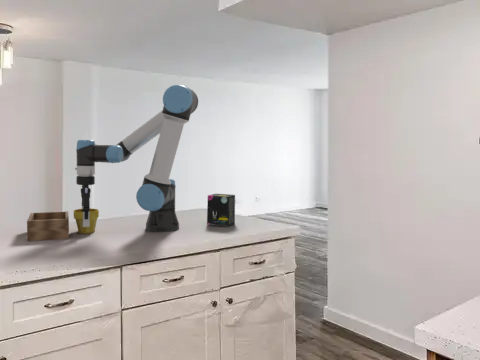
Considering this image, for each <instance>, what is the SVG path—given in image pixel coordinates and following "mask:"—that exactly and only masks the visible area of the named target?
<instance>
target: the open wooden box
mask: <svg viewBox="0 0 480 360" xmlns="http://www.w3.org/2000/svg"><path fill="white" fill-rule="evenodd" d="M69 217H70V216H69V211H67V210H66V211H49V212H48V211H47V212H46V211H43V212H42V211H41V212H30V214H29V216H28V218H27V220H26V231H27V233H26V236H27V240H26V241H27V242H34V241H49V240H51V241H52V240H66V239H70V229H69V228H70V226H69V224H70V222H69V221H70V220H69Z"/></svg>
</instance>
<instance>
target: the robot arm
mask: <svg viewBox="0 0 480 360" xmlns="http://www.w3.org/2000/svg"><path fill="white" fill-rule="evenodd" d="M162 104H163V107H162V110H160V111H159V112H158V113H157V114H155V115H154V116H153V117H151V118H150V119H149V120H148V121H145V123H143V124H142V125H141V126H140V127H138V128H136V129H135V130H133V132H131V133H130V134H129V135H128V136H126V137H125V138H123V139H122V140H121V141H120V142H118V143H117V144H96V141H95V140H94V139H78V140H77V141H76V151H75V152H76V167H75V168H74V170H75V171H76V175H77V176H76V178H75V179H76V180H75V181H76V182H75V183H76V185H78V186H81V188H80V196H81V204H80V205H81V209H83V210H81V212H83V227H90V208H91V207H90V203H91V202H90V199H91V192H92V191H91V188H90V187H89V186H93V185H95V183H96V182H95V180H96V179H95V176H94V175H96V165H95V163H107V164H108V163H109V164H110V163H111V164H119V163H121V162H125V161H127V160H128V159H129V158H130V157H131V155H133V154H134V153H135V152H136V151H138V150H139V149H140V148H142V147H143V146H145V145H146V144H147V143H149V142H150V141H151V140H153V139H155V138H156V137H157V136H158V135H159V137H158V140H157V144H156V147H155V151H154V154H153V158H152V162H151V166H150V167H149V168H150V169H149V172H148V173H146V174H145V175H144V176H143V177H144V178H143V181H142V184H141V186H140V187H138V190H137V192H136V198H135V199H136V202H137V204H138V205H139V207H140V208H141V209H142V210H144V211H147V212H149V213H148V216H147V219H146V222H145V230H146V231H150V232H171V231H173V232H174V231H177V230H179V229H180V223H179V220H178V216H177V213H176V180H174V179H173V178H170V176H171V172H172V168H173V165H174V161H175V158H176V154H177V151H178V146H179V144H180V140H181V137H182V134H183V129H184V126H185V124H186V123H188V122H189V121H190V118H191V115H192V114H193V113H194V112H195V111H196V110H197V109H198V106H199V97H198V95H197V93H196V92H195V91H194V90H193V89H191V88H189V87H187V86H185V85H182V84H174V85H173V84H172V85H170V86H169V87H167V88H166V89H165V91H164V93H163V95H162Z"/></svg>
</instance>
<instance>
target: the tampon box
mask: <svg viewBox="0 0 480 360" xmlns="http://www.w3.org/2000/svg"><path fill="white" fill-rule="evenodd" d="M206 209H207V211H206V213H207V215H206V218H207V219H206V225H207V226H211V227H212V226H215V227H222V226H224V227H223V228H228V227H230V226H234V225H235V223H236V221H235V220H236V194H230V193H229V194H227V193H226V194H225V193H224V194H223V193H213V194H208V195H207V208H206ZM227 226H228V227H227Z"/></svg>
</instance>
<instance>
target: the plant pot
mask: <svg viewBox="0 0 480 360" xmlns="http://www.w3.org/2000/svg"><path fill="white" fill-rule="evenodd" d="M81 210H83V209H82V208H78V209H74V210H73V219H75V223H76V227H77V231H78V233H79V234H93V233H94V232H95V230H96V226H97V221H98V219H99V217H100V214H99V213H100V210H99V209H98V208H91V207H90V227H83V212H81Z"/></svg>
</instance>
